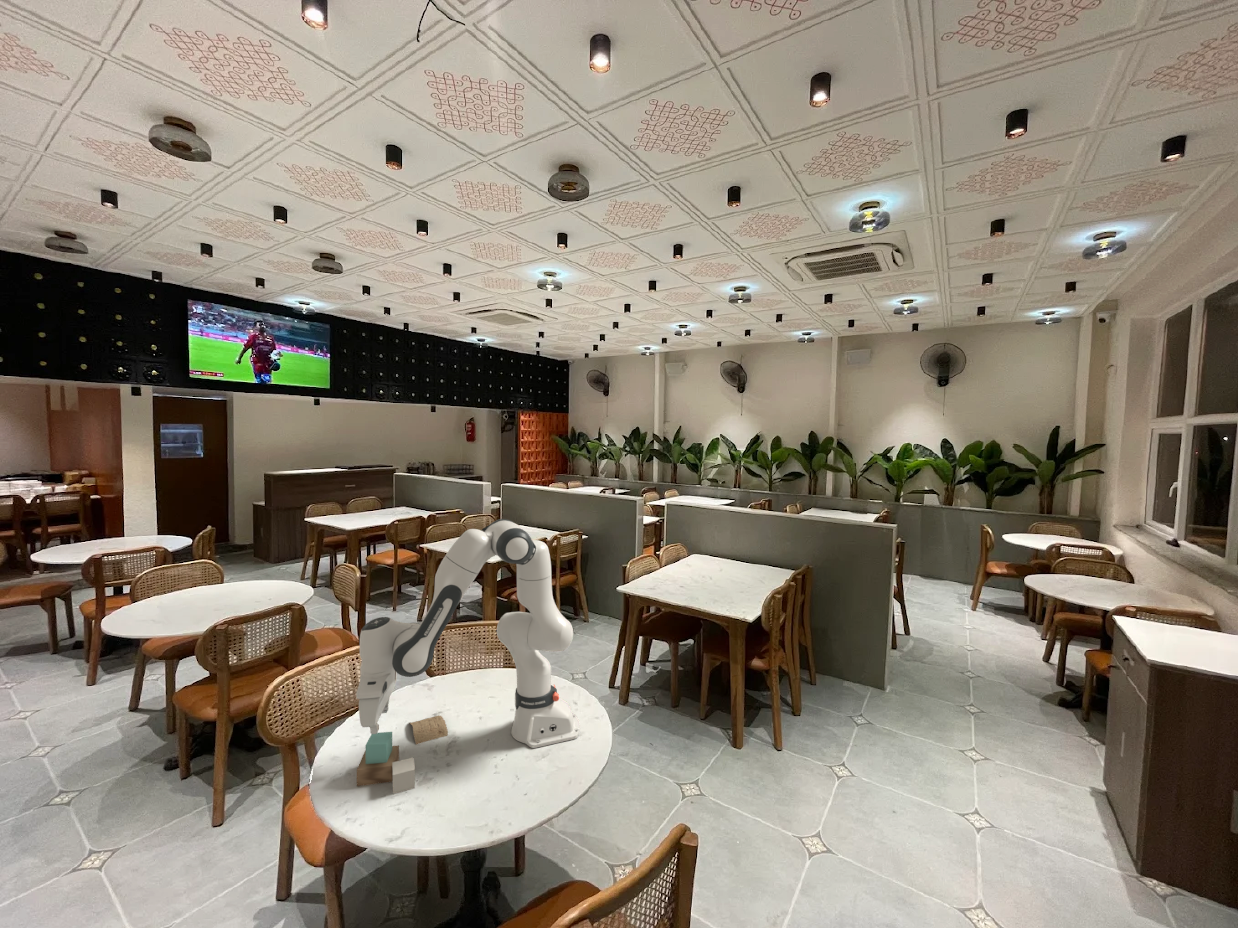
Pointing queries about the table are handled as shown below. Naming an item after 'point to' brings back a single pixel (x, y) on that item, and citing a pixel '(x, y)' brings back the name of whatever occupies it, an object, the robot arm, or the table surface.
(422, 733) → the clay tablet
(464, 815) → the table surface
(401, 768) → the grey cube
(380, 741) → the teal cube
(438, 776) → the table surface
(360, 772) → the walnut base
